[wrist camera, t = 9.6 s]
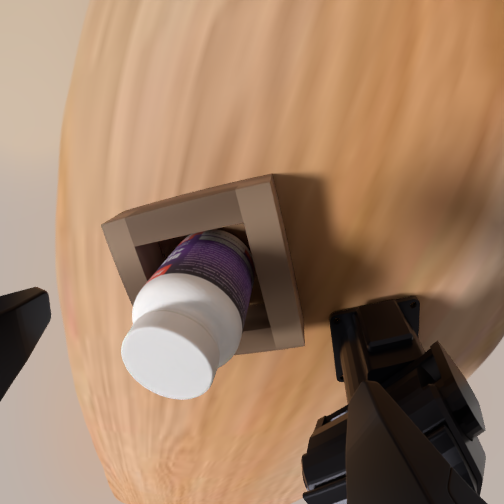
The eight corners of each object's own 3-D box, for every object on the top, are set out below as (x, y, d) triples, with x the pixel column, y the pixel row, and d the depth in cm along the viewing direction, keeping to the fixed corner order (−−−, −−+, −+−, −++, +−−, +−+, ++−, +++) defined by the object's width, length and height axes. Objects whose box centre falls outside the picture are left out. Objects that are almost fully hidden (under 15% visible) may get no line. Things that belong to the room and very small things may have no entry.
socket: (303, 318, 22) (304, 345, 19) (171, 335, 23) (158, 360, 21) (272, 173, 18) (269, 182, 15) (123, 211, 20) (100, 225, 17)
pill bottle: (186, 214, 20) (110, 289, 11) (268, 244, 20) (251, 343, 11) (167, 286, 22) (103, 381, 13) (240, 313, 22) (212, 424, 13)
